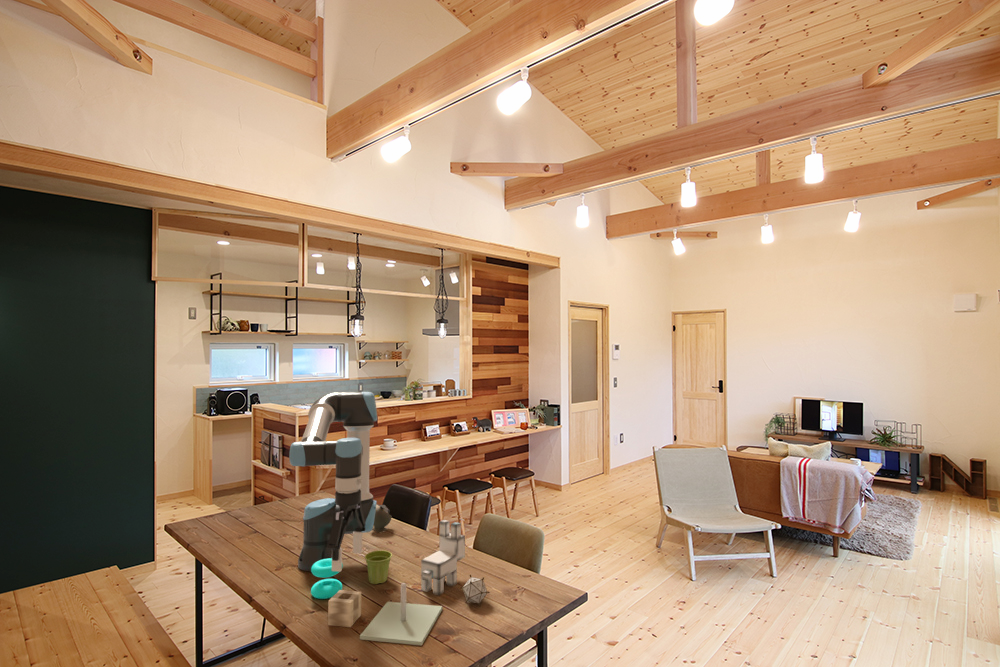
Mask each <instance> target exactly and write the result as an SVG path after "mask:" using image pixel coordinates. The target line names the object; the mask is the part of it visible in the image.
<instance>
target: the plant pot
mask: <svg viewBox="0 0 1000 667" xmlns="http://www.w3.org/2000/svg"><path fill="white" fill-rule="evenodd" d="M392 557H393V554H392V552H390V551H389V550H383V549H382V550H374V551H370V552H368V553H366V554H365V555H364V559H365V561H366V565H367V566H366V567H367V574H368V581H369V583H370V584H373V585H378V584H384V583H386V581H387V580H388V576H389V575H388V574H389V569H390V567H389V566H390V562H391V559H392Z"/></svg>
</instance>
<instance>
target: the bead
mask: <svg viewBox="0 0 1000 667" xmlns="http://www.w3.org/2000/svg"><path fill="white" fill-rule="evenodd" d="M327 606H328V611H327V612H328V614H327V617H328V618H327V621H328V622H327V624H328V626H334V627H343V628H344V627H346V628H352V626H353V625H354V624H355V623H356V621H357V620H358V619H359V618H360V617H361V616H362V591H358V590H357V591H356V590H344V589H342V590H339V591H338V592H337V593H336V594H335V595H334V596H333V597H332V598H329V600H328V604H327Z"/></svg>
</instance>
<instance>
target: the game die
mask: <svg viewBox="0 0 1000 667" xmlns="http://www.w3.org/2000/svg"><path fill="white" fill-rule="evenodd" d="M484 580H485V577H482V578H478V577H475V576H472V575H471V574H469V578H468V580H467V581H466V582H465V584H464V585H463V586H461V587H459V589H460V590H462V592H463V594H464V597H465V600H466V601H465V604H467V603H468V602H469V603H473V604H478V606H479V607H481V603H482V600H483V599H484V597H486V595H487V594H490V593H491V592H490V591H489V590H487V587H486V584H485V582H484Z"/></svg>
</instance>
